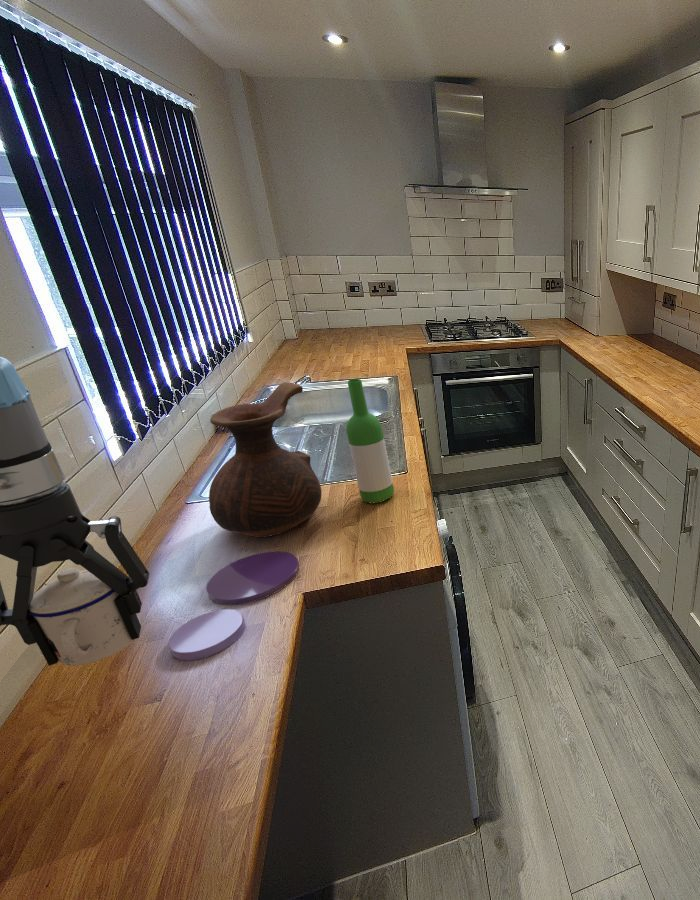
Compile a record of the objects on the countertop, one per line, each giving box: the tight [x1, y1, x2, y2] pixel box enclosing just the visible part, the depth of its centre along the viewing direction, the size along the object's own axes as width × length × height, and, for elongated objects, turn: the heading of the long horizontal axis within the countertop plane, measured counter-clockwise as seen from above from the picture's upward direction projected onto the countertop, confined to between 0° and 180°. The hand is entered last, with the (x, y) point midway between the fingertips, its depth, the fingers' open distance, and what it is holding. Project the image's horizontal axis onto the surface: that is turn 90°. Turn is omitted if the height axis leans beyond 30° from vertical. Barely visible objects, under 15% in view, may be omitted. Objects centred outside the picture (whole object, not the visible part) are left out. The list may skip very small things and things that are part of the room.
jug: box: [208, 381, 322, 538], centre depth 114 cm, size 22×22×30 cm
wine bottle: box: [345, 378, 395, 504], centre depth 124 cm, size 8×8×30 cm
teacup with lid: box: [28, 567, 143, 667], centre depth 67 cm, size 12×9×12 cm
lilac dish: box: [168, 608, 246, 661], centre depth 86 cm, size 10×10×2 cm
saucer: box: [206, 550, 300, 606], centre depth 100 cm, size 15×15×1 cm
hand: (97, 644), depth 69 cm, fingers closed on teacup with lid, 7 cm apart
